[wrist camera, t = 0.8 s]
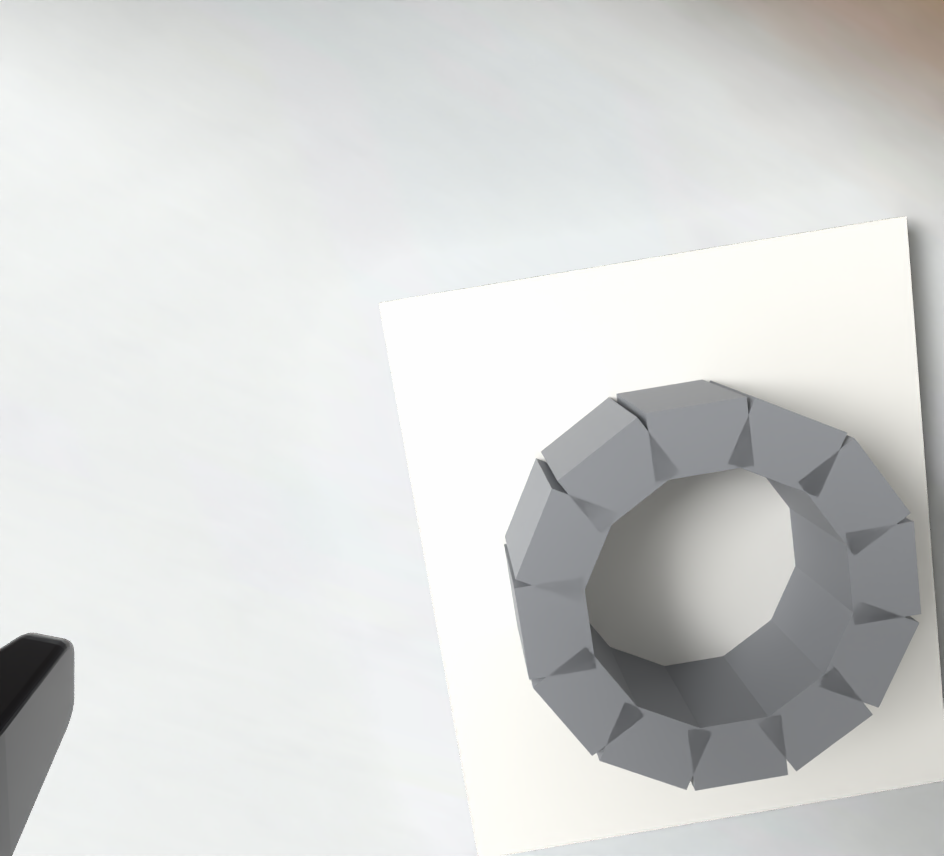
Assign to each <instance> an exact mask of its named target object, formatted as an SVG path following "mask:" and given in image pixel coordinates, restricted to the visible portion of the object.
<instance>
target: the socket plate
mask: <svg viewBox="0 0 944 856" xmlns="http://www.w3.org/2000/svg"><path fill="white" fill-rule="evenodd" d="M379 308H380V313H381V319H382V324H383V330H384V335H385V341H386V347H387V352H388V358H389V363H390V369H391V375H392V380H393V386H394V391H395V397H396V402H397V408H398V414H399V419H400V425H401V430H402V436H403V442H404V447H405V453H406V458H407V464H408V469H409V475H410V481H411V486H412V492H413V497H414V503H415V509H416V514H417V520H418V525H419V531H420V536H421V542H422V548H423V553H424V559H425V564H426V570H427V576H428V581H429V587H430V592H431V598H432V604H433V609H434V615H435V620H436V626H437V631H438V637H439V643H440V648H441V654H442V659H443V665H444V671H445V676H446V682H447V687H448V693H449V698H450V704H451V710H452V715H453V721H454V726H455V732H456V738H457V743H458V749H459V754H460V760H461V765H462V771H463V777H464V782H465V788H466V793H467V799H468V805H469V810H470V816H471V821H472V827H473V832H474V838H475V844H476V849H477V855H478V856H504V855H509V854H515V853H521V852H527V851H533V850H539V849H545V848H551V847H557V846H563V845H569V844H574V843H580V842H586V841H592V840H598V839H604V838H610V837H616V836H622V835H628V834H634V833H639V832H645V831H651V830H657V829H663V828H669V827H675V826H681V825H687V824H693V823H698V822H704V821H710V820H716V819H722V818H728V817H734V816H740V815H746V814H752V813H758V812H763V811H769V810H775V809H781V808H787V807H793V806H799V805H805V804H811V803H817V802H823V801H828V800H834V799H840V798H846V797H852V796H858V795H864V794H870V793H876V792H882V791H888V790H893V789H899V788H905V787H911V786H917V785H923V784H929V783H935V782H941V781H944V708H943V694H942V681H941V668H940V655H939V641H938V628H937V615H936V602H935V588H934V575H933V562H932V548H931V535H930V522H929V509H928V495H927V482H926V469H925V455H924V442H923V429H922V416H921V402H920V389H919V376H918V362H917V349H916V336H915V323H914V309H913V296H912V283H911V269H910V256H909V243H908V230H907V216H904V217H897V218H889V219H882V220H876V221H870V222H864V223H858V224H852V225H846V226H840V227H834V228H828V229H822V230H816V231H810V232H804V233H798V234H792V235H785V236H779V237H773V238H767V239H761V240H755V241H749V242H743V243H737V244H731V245H725V246H719V247H713V248H707V249H701V250H695V251H689V252H682V253H676V254H670V255H664V256H658V257H652V258H646V259H640V260H634V261H628V262H622V263H616V264H610V265H604V266H598V267H592V268H586V269H579V270H573V271H567V272H561V273H555V274H549V275H543V276H537V277H531V278H525V279H519V280H513V281H507V282H501V283H495V284H489V285H483V286H476V287H470V288H464V289H458V290H452V291H446V292H440V293H434V294H428V295H422V296H416V297H410V298H404V299H398V300H392V301H386V302H381V303H379Z"/></svg>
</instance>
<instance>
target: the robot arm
mask: <svg viewBox="0 0 944 856" xmlns="http://www.w3.org/2000/svg"><path fill="white" fill-rule="evenodd" d="M73 705H74V648H73V645H72V643H71V642H70V641H68V640H66V639H63V638H58V637H53V636H48V635H43V634H38V633H27V634H24V635H21V636H20V637H18V638H16V639H15V640H13V641H11V642H10V643H8V644H7V645H5V646H3V647H2V648H0V856H12V855H13V852H14V850H15V848H16V845H17V843H18V841H19V838H20V836H21V834H22V831H23V829H24V827H25V824H26V822H27V820H28V817H29V815H30V813H31V810H32V808H33V806H34V803H35V801H36V799H37V796H38V794H39V792H40V789H41V787H42V785H43V782H44V780H45V778H46V776H47V773H48V771H49V769H50V766H51V764H52V762H53V759H54V757H55V755H56V752H57V750H58V748H59V745H60V743H61V741H62V738H63V736H64V734H65V731H66V729H67V726H68V724H69V721H70V718H71V714H72V710H73Z"/></svg>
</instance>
